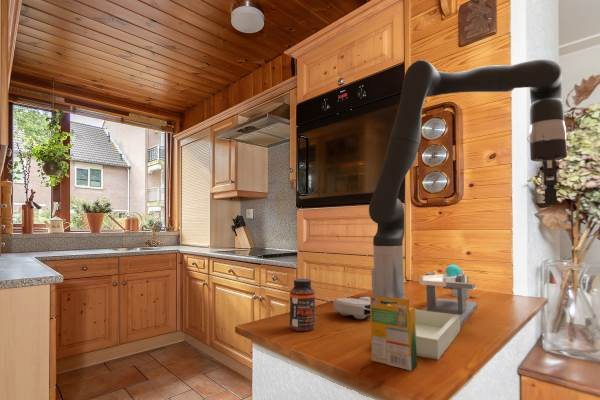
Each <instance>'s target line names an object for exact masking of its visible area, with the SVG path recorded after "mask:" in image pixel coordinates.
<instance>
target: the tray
mask: <svg viewBox="0 0 600 400" xmlns="http://www.w3.org/2000/svg"><path fill="white" fill-rule="evenodd" d="M415 325H416V351H417V356H418V357H421V358H427V359H432V360H440V359H441V357H442V356H443V354H444V353H445V351H447V349H448V348H449V347H450V345H451V343H452V342H453V341H454V340H456V337H457V336H458V335H459V333H460V332H461V327H460V315H455V314H448V313H440V312H432V311H425V310H422V309H416V308H415Z"/></svg>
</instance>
